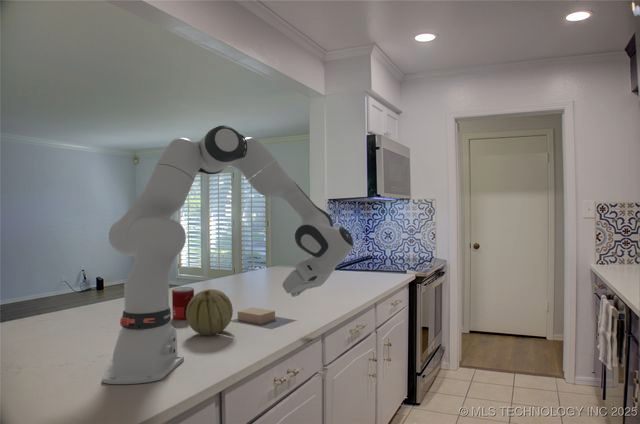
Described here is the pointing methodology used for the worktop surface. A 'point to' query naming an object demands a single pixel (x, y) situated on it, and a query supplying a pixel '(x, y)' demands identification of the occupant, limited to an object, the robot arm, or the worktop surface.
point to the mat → (270, 324)
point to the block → (256, 315)
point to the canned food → (181, 301)
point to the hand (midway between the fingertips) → (294, 294)
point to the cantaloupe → (209, 312)
